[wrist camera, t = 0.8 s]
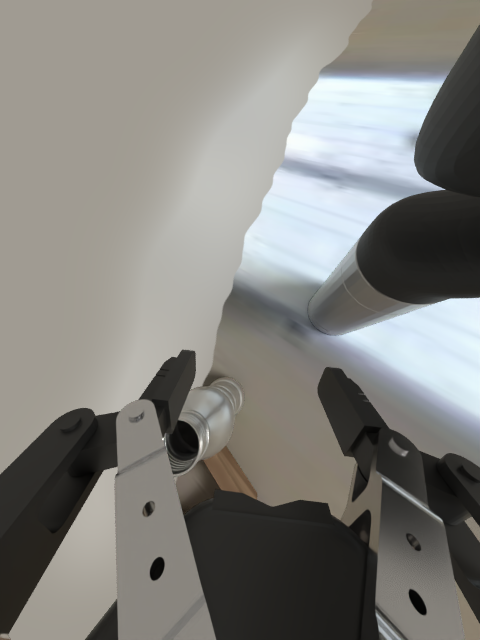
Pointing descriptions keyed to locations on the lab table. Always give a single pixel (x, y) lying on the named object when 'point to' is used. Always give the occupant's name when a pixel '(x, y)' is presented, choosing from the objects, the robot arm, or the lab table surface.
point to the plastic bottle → (204, 424)
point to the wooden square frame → (229, 473)
